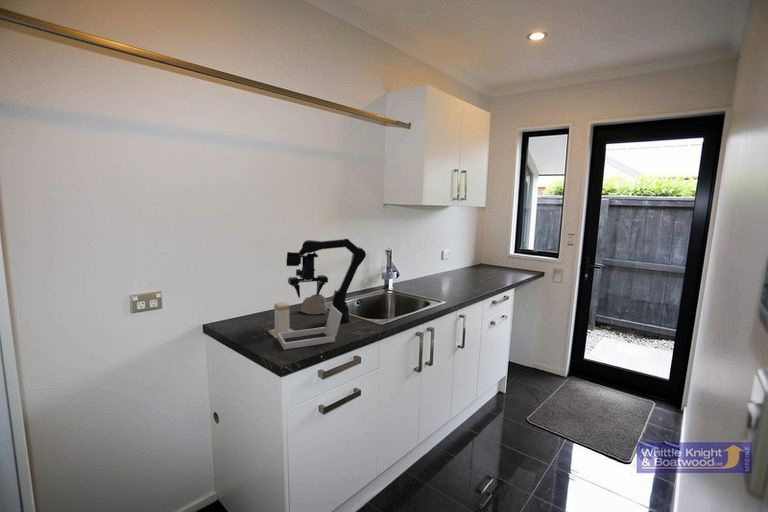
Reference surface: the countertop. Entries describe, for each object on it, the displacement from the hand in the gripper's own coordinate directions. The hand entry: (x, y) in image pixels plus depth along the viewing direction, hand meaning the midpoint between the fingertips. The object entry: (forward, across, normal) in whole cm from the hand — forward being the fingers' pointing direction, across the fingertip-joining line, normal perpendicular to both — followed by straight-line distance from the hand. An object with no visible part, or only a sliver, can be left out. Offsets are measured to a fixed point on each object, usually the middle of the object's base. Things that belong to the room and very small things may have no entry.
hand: (308, 297), depth 182 cm
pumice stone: (+13, -8, -14) cm, 21 cm away
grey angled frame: (+13, +6, +23) cm, 27 cm away
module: (+12, +15, +10) cm, 22 cm away
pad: (+13, +15, +10) cm, 22 cm away
